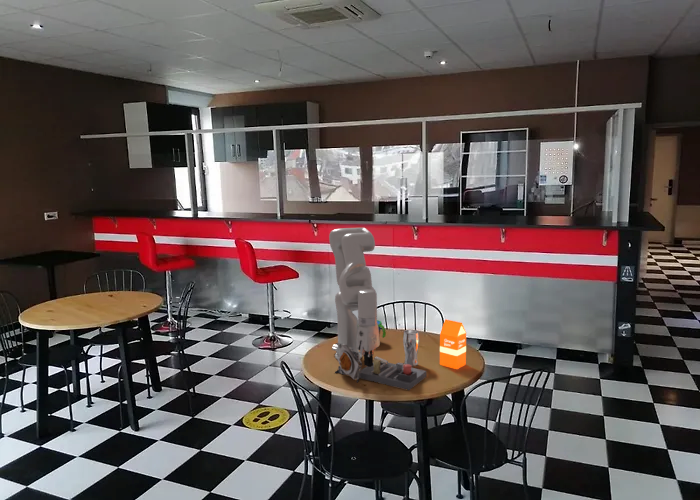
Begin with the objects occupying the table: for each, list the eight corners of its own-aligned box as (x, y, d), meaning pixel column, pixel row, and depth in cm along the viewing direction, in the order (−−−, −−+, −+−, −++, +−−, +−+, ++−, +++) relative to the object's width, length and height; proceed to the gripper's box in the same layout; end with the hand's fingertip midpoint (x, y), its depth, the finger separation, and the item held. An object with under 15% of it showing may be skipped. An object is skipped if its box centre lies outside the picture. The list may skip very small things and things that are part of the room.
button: (401, 374, 210) (401, 366, 209) (405, 371, 213) (405, 363, 212) (409, 376, 208) (409, 367, 208) (412, 373, 211) (412, 365, 210)
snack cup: (353, 341, 265) (352, 321, 264) (366, 336, 273) (366, 317, 272) (377, 347, 255) (377, 327, 254) (390, 342, 263) (390, 322, 261)
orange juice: (456, 369, 226) (457, 324, 223) (439, 364, 232) (439, 321, 229) (466, 364, 232) (466, 320, 229) (448, 359, 238) (449, 317, 235)
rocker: (373, 359, 228) (374, 357, 228) (376, 358, 230) (376, 356, 230) (385, 364, 225) (385, 362, 225) (387, 363, 227) (388, 361, 227)
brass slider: (373, 373, 216) (372, 360, 215) (375, 371, 218) (375, 358, 217) (378, 374, 215) (378, 361, 214) (381, 373, 216) (381, 360, 215)
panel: (357, 377, 219) (357, 366, 218) (377, 365, 232) (377, 354, 231) (408, 390, 206) (408, 378, 205) (426, 376, 219) (426, 365, 218)
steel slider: (396, 371, 218) (396, 363, 218) (398, 369, 220) (398, 362, 219) (402, 372, 216) (402, 365, 216) (404, 371, 218) (404, 363, 217)
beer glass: (409, 368, 229) (409, 335, 226) (400, 362, 235) (400, 330, 232) (422, 365, 232) (422, 332, 229) (413, 360, 238) (413, 328, 236)
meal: (332, 373, 224) (332, 344, 222) (340, 370, 227) (340, 341, 225) (354, 384, 212) (354, 353, 210) (362, 381, 215) (362, 351, 213)
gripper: (365, 326, 198) (366, 373, 201) (385, 317, 211) (385, 361, 213) (349, 324, 202) (350, 369, 205) (369, 315, 215) (370, 358, 217)
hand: (368, 365), depth 209 cm, fingers closed
